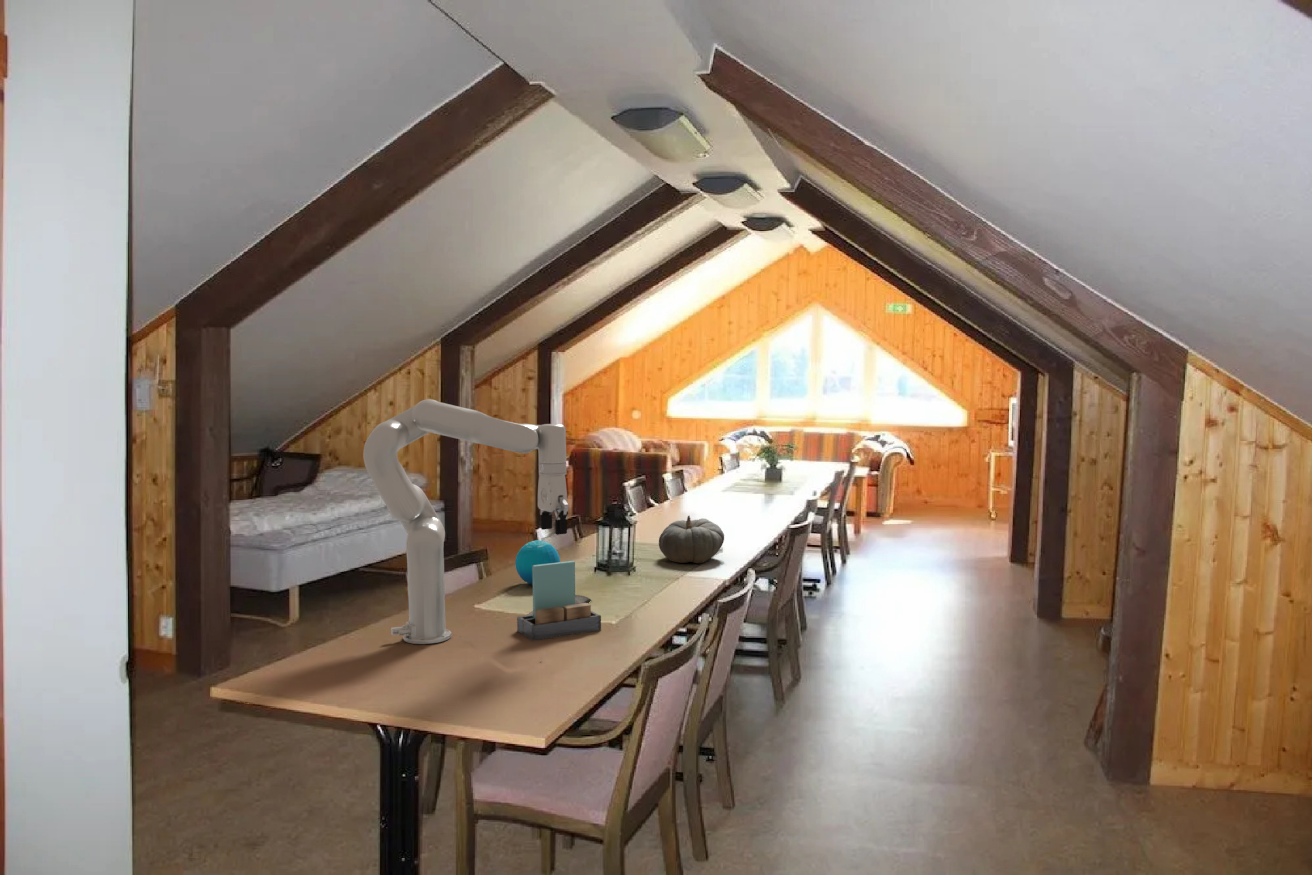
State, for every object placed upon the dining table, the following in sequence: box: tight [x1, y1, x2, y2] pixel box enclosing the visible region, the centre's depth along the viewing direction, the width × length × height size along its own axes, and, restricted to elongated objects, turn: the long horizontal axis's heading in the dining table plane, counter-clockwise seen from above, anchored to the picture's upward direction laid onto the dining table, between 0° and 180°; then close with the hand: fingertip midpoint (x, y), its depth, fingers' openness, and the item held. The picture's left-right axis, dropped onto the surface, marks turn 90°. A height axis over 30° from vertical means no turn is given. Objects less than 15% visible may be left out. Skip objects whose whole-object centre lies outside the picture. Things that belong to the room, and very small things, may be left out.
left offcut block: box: [535, 607, 564, 625], centre depth 252 cm, size 7×3×7 cm, turn 120°
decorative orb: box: [515, 539, 561, 586], centre depth 317 cm, size 15×15×15 cm
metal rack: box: [516, 610, 602, 642], centre depth 257 cm, size 20×11×5 cm, turn 120°
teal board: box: [532, 560, 576, 618], centre depth 259 cm, size 12×2×18 cm, turn 120°
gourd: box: [658, 515, 725, 564], centre depth 357 cm, size 25×25×17 cm
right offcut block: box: [563, 603, 592, 620], centre depth 256 cm, size 7×3×7 cm, turn 120°
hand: (553, 531), depth 258 cm, fingers open, 9 cm apart
